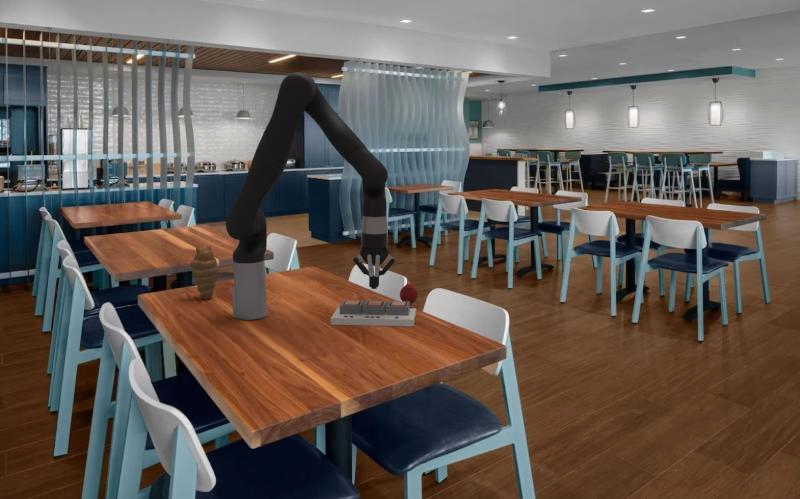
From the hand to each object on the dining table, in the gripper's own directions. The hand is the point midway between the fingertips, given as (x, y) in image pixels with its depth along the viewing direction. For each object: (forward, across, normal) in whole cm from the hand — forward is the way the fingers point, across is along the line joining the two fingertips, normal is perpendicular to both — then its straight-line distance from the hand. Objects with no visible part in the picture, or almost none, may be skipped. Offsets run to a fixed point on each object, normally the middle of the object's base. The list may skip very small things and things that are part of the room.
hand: (374, 288), depth 180 cm
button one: (+6, +7, 0) cm, 10 cm away
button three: (+6, 0, 0) cm, 6 cm away
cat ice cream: (+10, -59, +19) cm, 63 cm away
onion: (+9, +10, +14) cm, 19 cm away
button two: (+7, -7, 0) cm, 9 cm away
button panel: (+9, 0, -2) cm, 9 cm away
